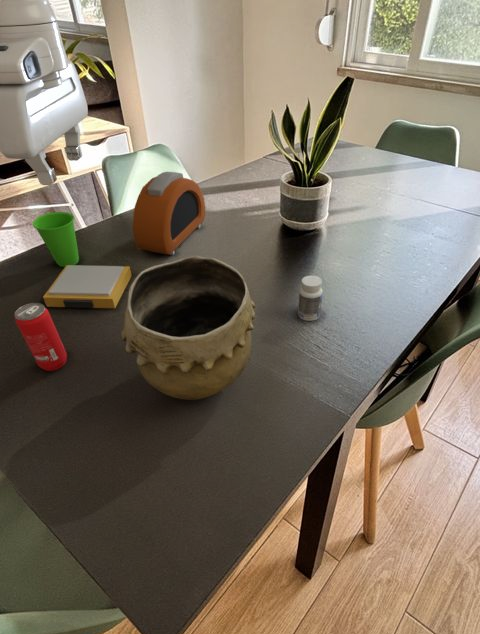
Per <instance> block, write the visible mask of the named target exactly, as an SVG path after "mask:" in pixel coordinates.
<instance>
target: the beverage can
mask: <svg viewBox="0 0 480 634" xmlns="http://www.w3.org/2000/svg"><path fill="white" fill-rule="evenodd" d="M51 316H52V315H51V314H50V312H49V310H48V308H47V307H45V305H44V304H42V303H39V302H31V303H27V304H23V305H21V306H20V307H18V309H17V310H16V311H15V312H14V321H15V323H16V325H17V327H18V329H19V331H20V333H21V335H22V338H23V339H24V341H25V343H26V345H27V347H28V349H29V351H30V353H31V355H32V356H33V359H34V361H35V363H36V365H37V366H38V367H39V368H41V369H42V370H43V371H46V372H54V371H57V370H60V369H62V368H63V367H64V366H65V365H66V363H67V358H68V354H67V351H66V349H65V346H64V344H63V342H62V339H61V338H60V335H59V332H58V330H57V327H56V326H55V323H54V321H53V319H52V317H51Z"/></svg>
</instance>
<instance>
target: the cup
mask: <svg viewBox="0 0 480 634" xmlns="http://www.w3.org/2000/svg"><path fill="white" fill-rule="evenodd" d="M74 221H75V217H74V215H73V214H72V213H71V212H68V211H67V212H66V211H54V212H48V213H44V214H42V215H40V216H38V217H36V218H35V219H34V220H33V222H32V227H33V228H34V229H36V231H37V232H38V234H39V236H40V237H41V239H42V241H43V243H44V244H45V246H46V248H47V249H48V251H49V253H50V255H51V256H52V258H53V260H54V261H55V263H56V264H57V265H58V266H59V267H62V268H65V267H66V265H78V263H79V261H80V256H79V250H78V249H79V248H78V243H77V235H76V229H75V223H74Z"/></svg>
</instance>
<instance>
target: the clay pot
mask: <svg viewBox="0 0 480 634" xmlns="http://www.w3.org/2000/svg"><path fill="white" fill-rule="evenodd" d="M254 308H256V304H255V302H254V301H253V300H252V298H251V296H250V292H249V287H248V285H247V283H246V280H245V278H244V276H243V275H242V274H241V273H240V271H238V270H237V269H236V268H235V267H234V266H231V265H229V264H228V263H227V262H225V261H222V260H221V259H217V258H215V257H203V256H201V255H191V256H187V257H183V258H179V259H177V260H174V261H170V262H165V263H160V264H157V265H154V266H151V267H148V268H146V269H144V270H142V271H140V273H139V274H138V275H137V276H136V277H135V278H134V280H133V281H132V283H131V284H130V286H129V289H128V295H127V305H126V309H125V312H124V320H123V330H122V331H121V334H120V336H121V341H123V342H125V352H126V353H128V354H129V355H131V354H134V353H135V356H136V364H137V366H138V369H139V372H140V374H141V376H142V377H143V378H144V380H145V381H146V382H147V384H149V385H150V386H152V387H153V388H154V389H156V390H157V391H159V392H160V393H162V394H164V395H166V396H169V397H171V398H175V399H179V400H188V401H191V400H192V401H193V400H195V401H197V400H200V399H204V398H209V397H211V396H213V395H217V394H218V393H219V392H221V391H223V390H224V389H226V388H228V387H229V386H230V385H231V384H233V383H234V382H235V381H236V380H237V379H238V378H239V377H240V376H241V375H242V373H243V372H244V370H245V368H246V367H247V364H248V361H249V359H250V355H251V349H252V333H251V331H253V330H254V328H255V326H254V324H253V323H252V321H253V320H255V319H256V312H255V310H254Z"/></svg>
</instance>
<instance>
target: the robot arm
mask: <svg viewBox="0 0 480 634" xmlns="http://www.w3.org/2000/svg"><path fill="white" fill-rule="evenodd" d="M88 114H89V109H88V102H87V99H86V95H85V92H84V88H83V85H82V82H81V80H80V76H79V72H78V71H77V68H76V66H75V64H74V63H73V62H72V61H71V60H70V59H68V55H67V52H66V50H65V47H64V42H63V39H62V34H61V31H60V26H59V23H58V20H57V16H56V14H55V12H54V10H53V8H52V6H51V4H50V1H49V0H0V153H1V154H2V155H3V156H4V157H5V158H6V159H11V160H12V159H13V160H24V161H25V162H26V164H28V165H29V166H30V168H31V169H32V170H33V171H34V173H35V175H36V177H37V180H38V183H39V185H42V186H53V184H55V183H56V182H57V179H58V178H57V175H56V172H55V169H54V167H50V165H49V164H48V163H47V161H46V158H47V155H46V153H45V149H47V148H48V147H50V146H51V145H52V144H53V143H55V142H56V141H57V140H58V139H60V138H61V137H62V136H64V141H65V147H63V149H64V152H65V155H66V159H67V160H68V161H69V162H70V161H71V162H72V161H73V162H74V161H79V160H80V159H82V157H83V152H82V149H81V129H80V126H79V124H80V123H81V122H82V121H83V120H85V119H86V118H87V117H88Z"/></svg>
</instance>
